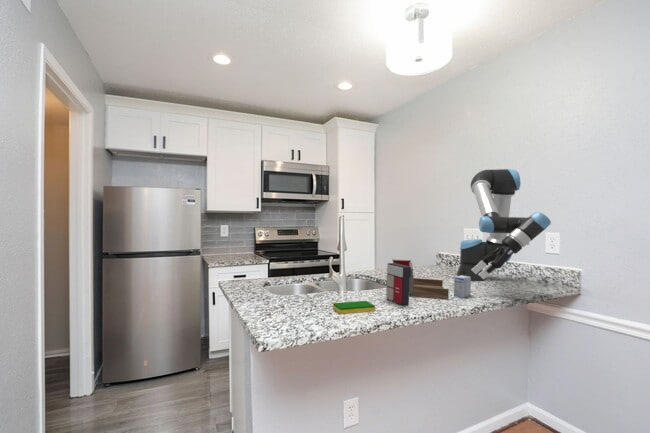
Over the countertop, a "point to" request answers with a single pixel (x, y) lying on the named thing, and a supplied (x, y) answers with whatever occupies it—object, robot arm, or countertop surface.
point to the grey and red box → (398, 283)
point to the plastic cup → (402, 261)
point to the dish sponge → (353, 307)
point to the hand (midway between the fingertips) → (476, 274)
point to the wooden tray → (426, 287)
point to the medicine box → (462, 286)
